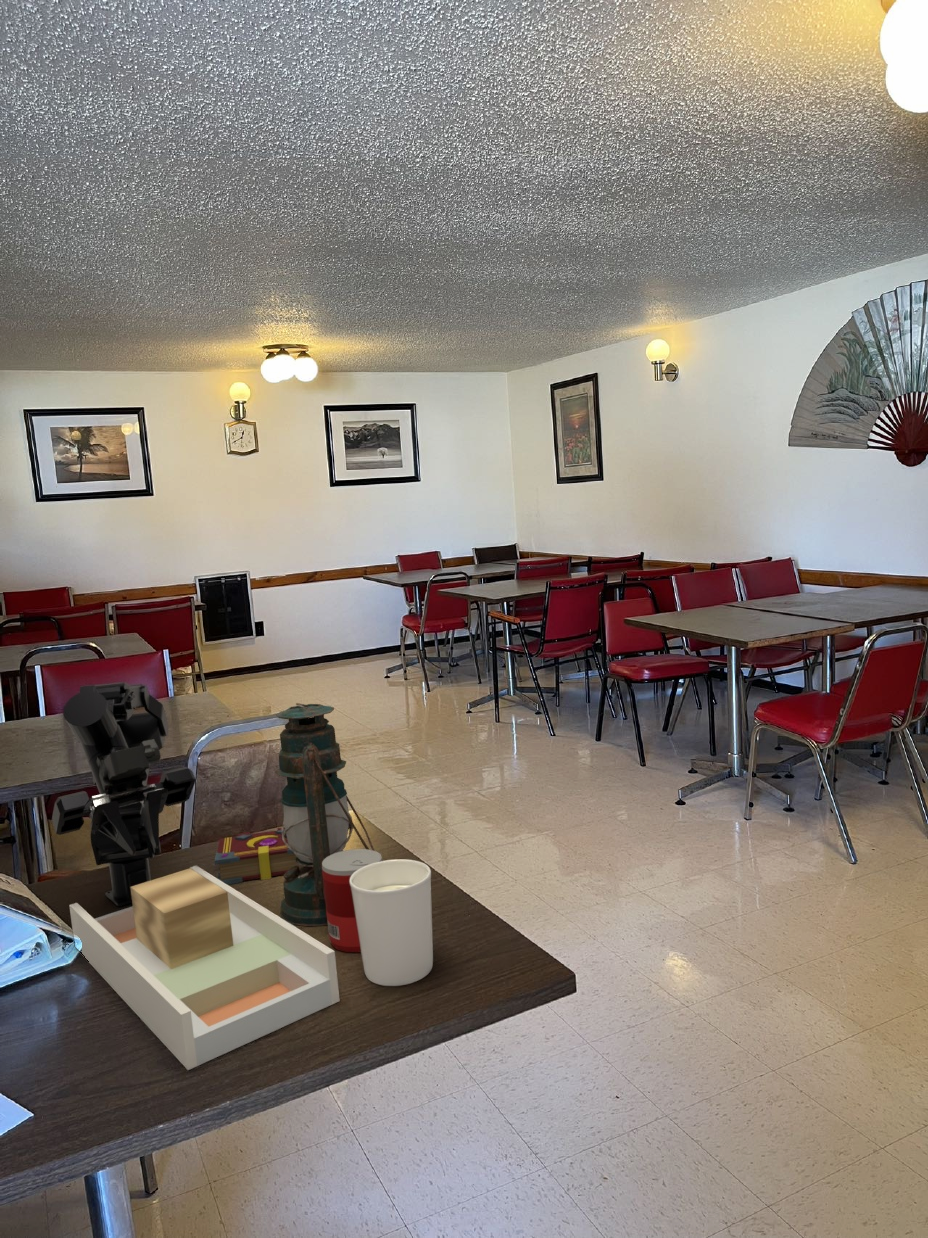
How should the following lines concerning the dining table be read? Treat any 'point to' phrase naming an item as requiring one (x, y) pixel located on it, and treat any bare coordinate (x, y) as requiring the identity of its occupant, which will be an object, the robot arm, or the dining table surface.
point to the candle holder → (394, 920)
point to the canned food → (343, 895)
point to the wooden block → (182, 917)
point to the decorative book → (253, 857)
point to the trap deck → (214, 978)
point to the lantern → (311, 809)
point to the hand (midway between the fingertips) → (145, 850)
